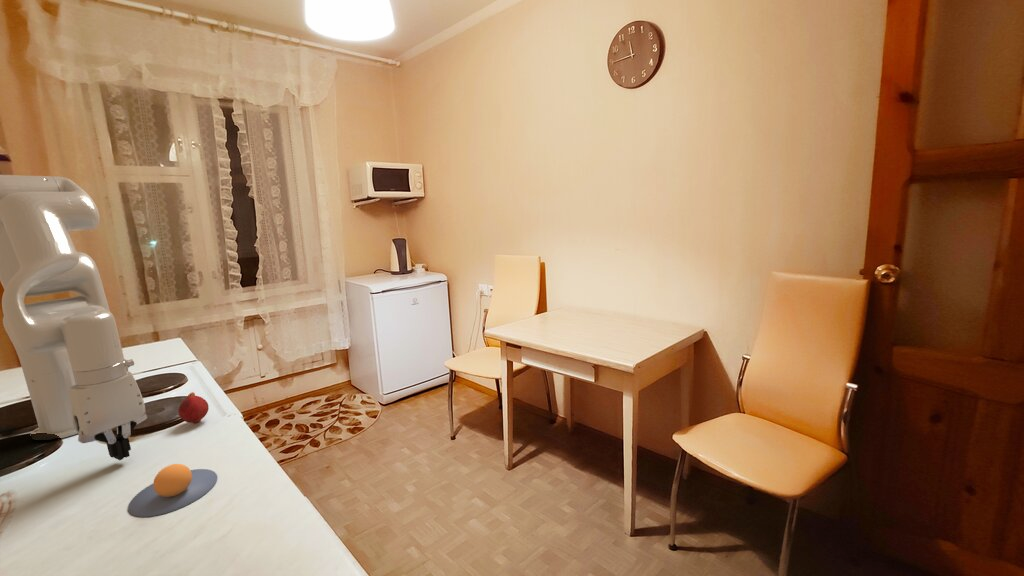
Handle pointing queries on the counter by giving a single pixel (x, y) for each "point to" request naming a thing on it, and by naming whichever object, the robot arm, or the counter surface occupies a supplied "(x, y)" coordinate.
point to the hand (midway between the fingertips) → (121, 456)
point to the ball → (172, 480)
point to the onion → (193, 409)
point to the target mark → (155, 504)
